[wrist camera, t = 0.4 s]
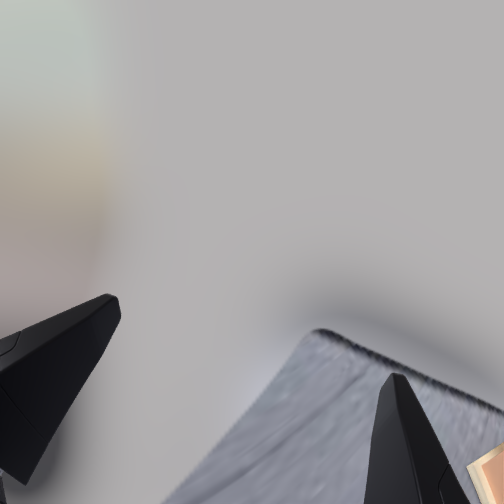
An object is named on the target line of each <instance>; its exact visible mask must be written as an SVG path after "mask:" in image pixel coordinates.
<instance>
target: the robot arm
mask: <svg viewBox="0 0 504 504" xmlns="http://www.w3.org/2000/svg"><path fill="white" fill-rule="evenodd" d="M120 319H121V311H120V306H119V301H118V298H117V297H116V296H114V295H111V294H103V295H101V296H99V297H96V298H94V299H92V300H89V301H87V302H85V303H82V304H80V305H78V306H75V307H73V308H71V309H69V310H66V311H64V312H62V313H59V314H57V315H55V316H53V317H51V318H48V319H46V320H43V321H41V322H39V323H37V324H34V325H32V326H30V327H28V328H25V329H23V330H22V331H18V332H16V333H14V334H12V335H9V336H7V337H5V338H2V339H0V475H1V474H2V472H3V471H5V472H6V473H8V474H9V475H11V476H12V477H13V478H15V479H16V480H18V481H19V482H20V483H22V484H23V485H26V484H27V483H28V481H29V479H30V477H31V475H32V474H33V472H34V470H35V468H36V466H37V464H38V462H39V460H40V459H41V457H42V455H43V453H44V452H45V450H46V448H47V446H48V443H49V442H50V441H51V439H52V437H53V435H54V434H55V432H56V430H57V428H58V427H59V425H60V423H61V422H62V420H63V418H64V416H65V415H66V413H67V411H68V409H69V408H70V406H71V405H72V403H73V401H74V400H75V398H76V396H77V395H78V393H79V392H80V390H81V388H82V387H83V385H84V383H85V382H86V380H87V379H88V377H89V375H90V374H91V372H92V371H93V369H94V368H95V366H96V364H97V363H98V361H99V360H100V358H101V357H102V355H103V353H104V351H105V349H106V347H107V345H108V343H109V341H110V339H111V337H112V335H113V333H114V332H115V330H116V327H117V326H118V324H119V322H120ZM0 504H7V503H6V498H5V494H4V488H3V482H2V477H1V476H0ZM364 504H470V502H469V500H468V498H467V497H466V495H465V493H464V491H463V489H462V487H461V486H460V484H459V482H458V480H457V477H456V475H455V473H454V471H453V469H452V467H451V465H450V464H449V461H448V459H447V457H446V454H445V452H444V450H443V448H442V446H441V444H440V442H439V440H438V438H437V436H436V434H435V432H434V430H433V428H432V426H431V424H430V422H429V420H428V418H427V416H426V414H425V412H424V410H423V408H422V406H421V405H420V403H419V401H418V399H417V397H416V395H415V393H414V391H413V389H412V388H411V386H410V384H409V382H408V380H407V378H406V377H405V375H403V374H399V373H391V374H390V376H389V377H388V379H387V380H386V382H385V383H384V385H383V386H382V388H381V390H380V393H379V399H378V405H377V410H376V416H375V421H374V426H373V432H372V438H371V447H370V458H369V467H368V476H367V484H366V491H365V498H364Z"/></svg>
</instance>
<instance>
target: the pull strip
mask: <svg viewBox="0 0 504 504" xmlns="http://www.w3.org/2000/svg"><path fill="white" fill-rule="evenodd" d="M503 450H504V442H503V443H502V444H500V445H499V446H497V447H496V448H495V449H493V450H492V451H490V452H489V453H487V454H486V455H484V456H483V457H481V458H479V459H478V460H476V461H475V462H473V463H472V464H470V465H468V466H467V469H468V472H469V474H470V476H471V479H472V481H473V484H474V486H475V489H476V491H477V494H478V496H479V499H480V501H481V504H496V501H495V499H494V496H493V493H492V491H491V488H490V486H489V483H488V481H487V479H486V476H485V474H484V472H483V469H482V467H481V465H483V464H484V463H486V462H487V461H489V460H490V459H492V458H493V457H494V456H496V455H497V454H499V453H500V452H501V451H503Z"/></svg>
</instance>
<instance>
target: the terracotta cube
mask: <svg viewBox="0 0 504 504" xmlns="http://www.w3.org/2000/svg"><path fill="white" fill-rule="evenodd" d="M481 467H482V469H483V472H484V474H485V476H486V479H487V481H488V483H489V486H490V488H491V491H492V493H493V496H494V499H495V501H496V504H504V450H503V451H501V452H500V453H499V454H497V455H496V456H494V457H493V458H492V459H490V460H489V461H487V462H486V463H484V464H483V465H481Z"/></svg>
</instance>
